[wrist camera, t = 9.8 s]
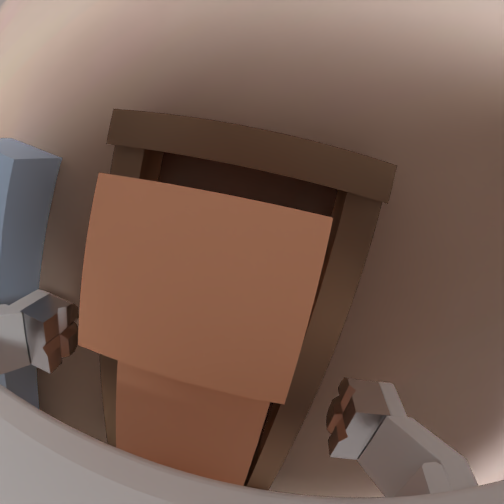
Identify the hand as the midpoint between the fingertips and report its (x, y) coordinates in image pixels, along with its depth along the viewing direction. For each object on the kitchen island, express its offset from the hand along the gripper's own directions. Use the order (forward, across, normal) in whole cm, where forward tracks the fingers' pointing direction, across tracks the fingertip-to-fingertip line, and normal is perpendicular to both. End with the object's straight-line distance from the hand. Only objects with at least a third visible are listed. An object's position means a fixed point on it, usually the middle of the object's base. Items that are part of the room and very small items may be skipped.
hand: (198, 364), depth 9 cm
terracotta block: (+2, 0, +2) cm, 2 cm away
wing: (+3, +10, +3) cm, 11 cm away
